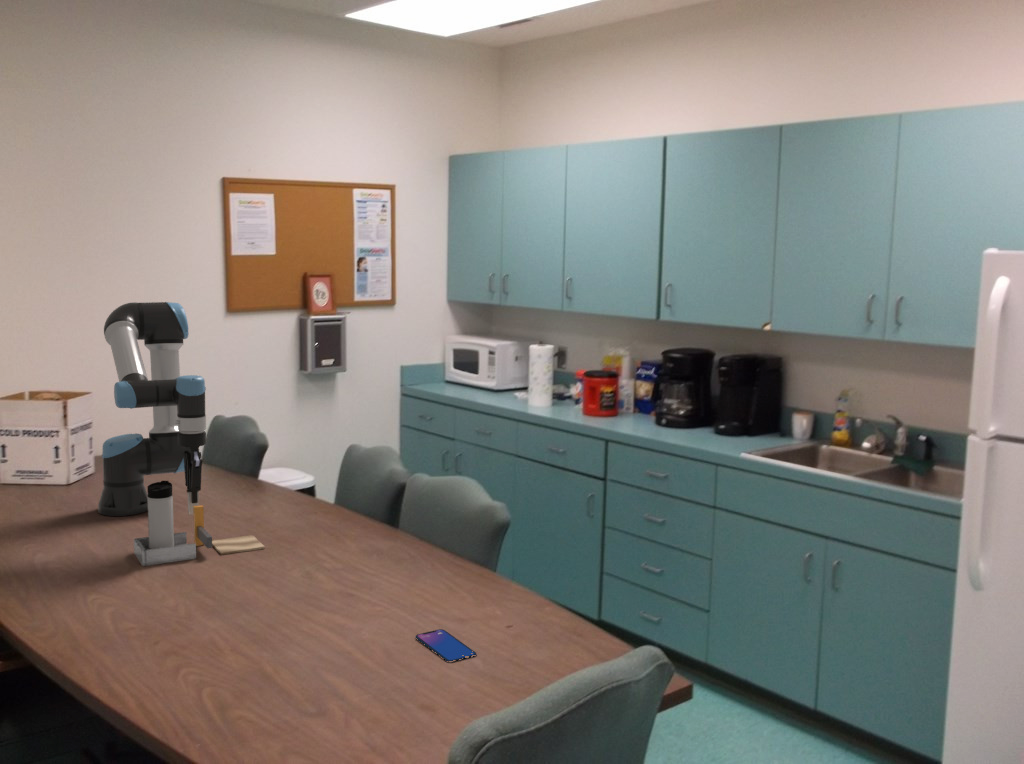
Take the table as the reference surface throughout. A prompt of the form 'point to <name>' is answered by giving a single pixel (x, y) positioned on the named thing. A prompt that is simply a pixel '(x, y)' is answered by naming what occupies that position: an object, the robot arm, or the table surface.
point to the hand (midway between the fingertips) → (193, 513)
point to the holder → (164, 551)
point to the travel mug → (160, 515)
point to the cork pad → (237, 544)
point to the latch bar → (200, 528)
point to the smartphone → (445, 645)
